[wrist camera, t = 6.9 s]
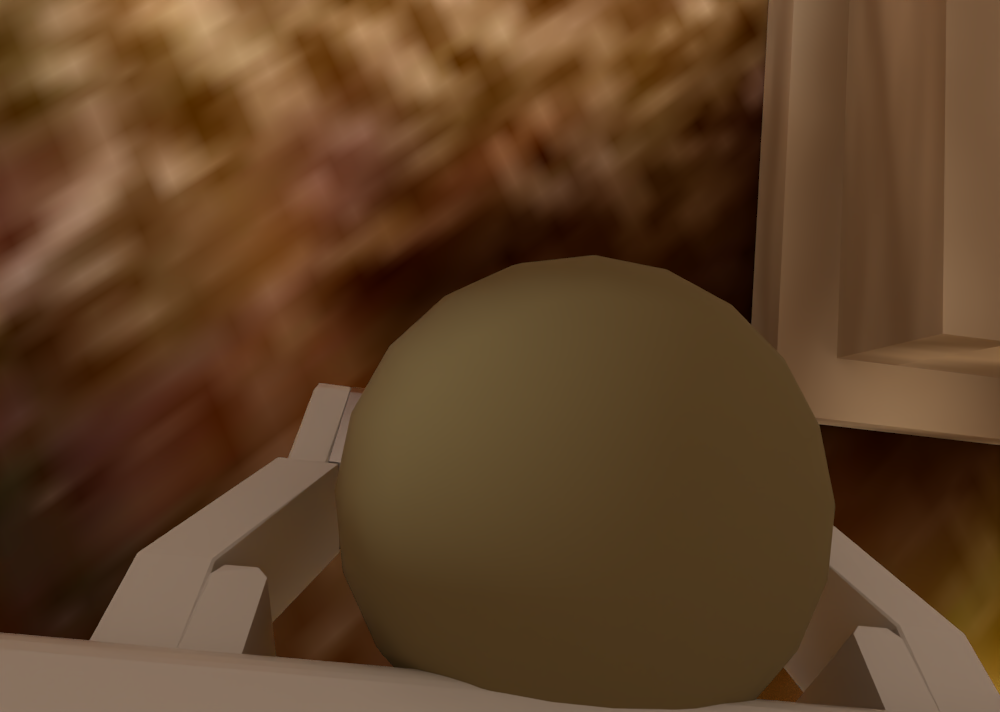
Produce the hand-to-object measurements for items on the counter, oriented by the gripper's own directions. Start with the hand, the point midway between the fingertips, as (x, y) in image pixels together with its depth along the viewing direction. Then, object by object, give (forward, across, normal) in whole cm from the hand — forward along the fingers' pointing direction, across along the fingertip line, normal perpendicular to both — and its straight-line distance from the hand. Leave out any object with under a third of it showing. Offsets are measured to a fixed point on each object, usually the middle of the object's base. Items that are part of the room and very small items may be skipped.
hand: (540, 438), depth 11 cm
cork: (+4, 0, +5) cm, 6 cm away
